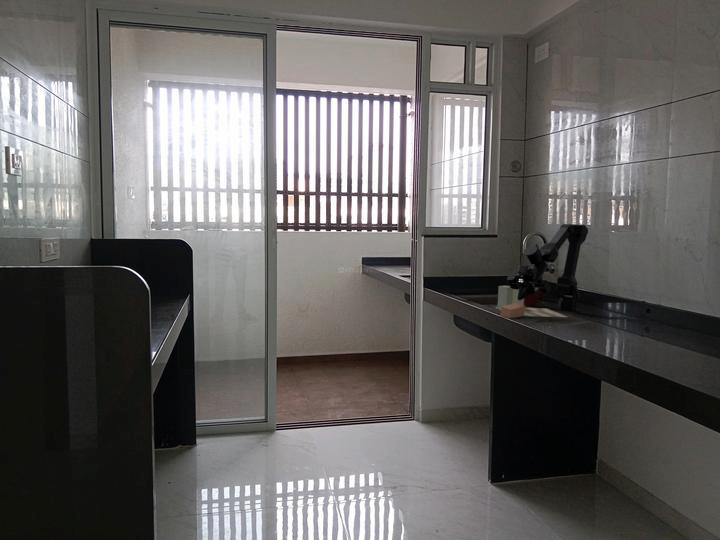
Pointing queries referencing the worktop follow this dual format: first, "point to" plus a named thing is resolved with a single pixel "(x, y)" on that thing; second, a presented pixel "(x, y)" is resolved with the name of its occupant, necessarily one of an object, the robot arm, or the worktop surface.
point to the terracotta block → (512, 310)
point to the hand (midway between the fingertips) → (518, 299)
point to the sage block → (505, 296)
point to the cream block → (515, 296)
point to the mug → (533, 299)
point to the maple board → (541, 312)
